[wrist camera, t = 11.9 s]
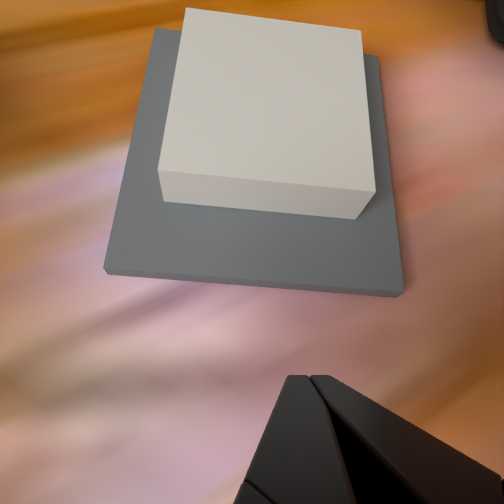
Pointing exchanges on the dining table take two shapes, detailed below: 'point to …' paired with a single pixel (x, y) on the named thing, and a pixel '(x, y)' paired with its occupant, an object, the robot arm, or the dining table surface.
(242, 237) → the slate board
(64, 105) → the dining table surface
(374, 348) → the dining table surface
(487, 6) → the tray
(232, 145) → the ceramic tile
